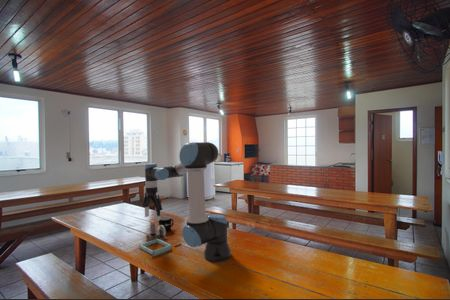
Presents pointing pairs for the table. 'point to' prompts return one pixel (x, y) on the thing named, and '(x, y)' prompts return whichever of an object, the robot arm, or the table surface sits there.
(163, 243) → the tray
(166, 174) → the robot arm
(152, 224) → the pin
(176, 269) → the table surface
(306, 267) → the table surface
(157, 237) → the tensioner block
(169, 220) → the mug
